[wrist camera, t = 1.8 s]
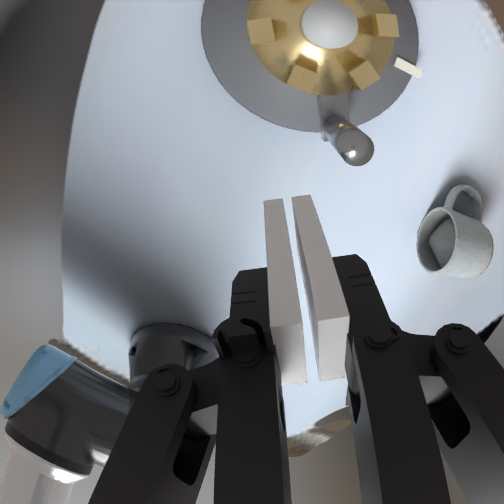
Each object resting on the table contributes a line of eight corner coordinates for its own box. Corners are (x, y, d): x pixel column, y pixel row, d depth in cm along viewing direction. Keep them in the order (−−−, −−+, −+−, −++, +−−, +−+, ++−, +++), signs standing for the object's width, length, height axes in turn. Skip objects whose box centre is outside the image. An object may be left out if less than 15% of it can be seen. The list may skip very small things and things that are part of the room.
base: (225, 142, 30) (218, 166, 24) (187, -44, 19) (168, -67, 13) (417, 123, 28) (451, 143, 22) (394, -54, 17) (426, -72, 11)
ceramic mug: (453, 257, 38) (479, 293, 32) (408, 248, 37) (433, 287, 31) (485, 190, 32) (520, 219, 26) (440, 172, 31) (476, 201, 25)
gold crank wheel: (236, -23, 19) (228, -54, 12) (370, -29, 18) (412, -52, 11) (267, 142, 28) (272, 176, 21) (389, 130, 27) (432, 160, 20)
